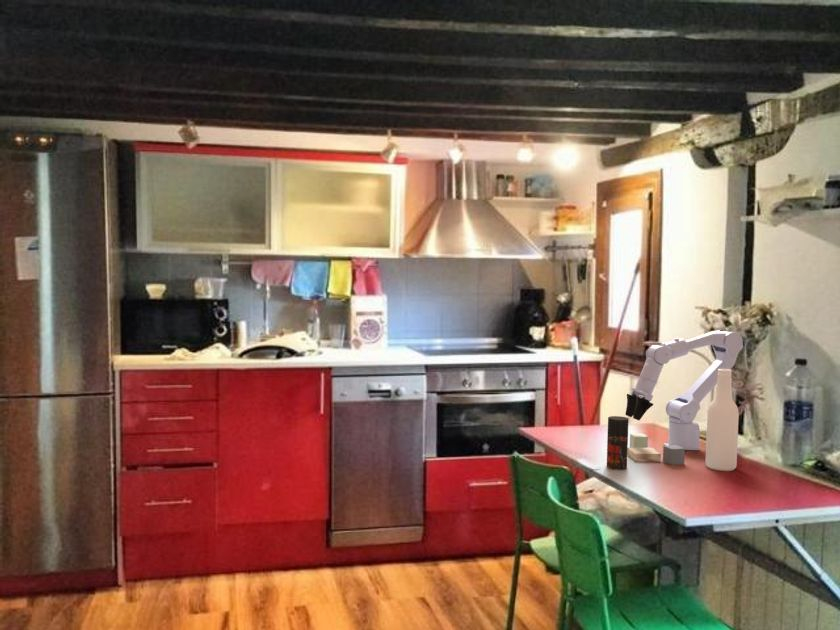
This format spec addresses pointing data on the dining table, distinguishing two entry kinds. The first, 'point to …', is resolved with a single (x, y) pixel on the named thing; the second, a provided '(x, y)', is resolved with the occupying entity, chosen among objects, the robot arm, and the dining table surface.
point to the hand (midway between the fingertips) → (632, 417)
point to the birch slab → (644, 454)
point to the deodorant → (617, 442)
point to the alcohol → (722, 426)
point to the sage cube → (638, 441)
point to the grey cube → (673, 454)
